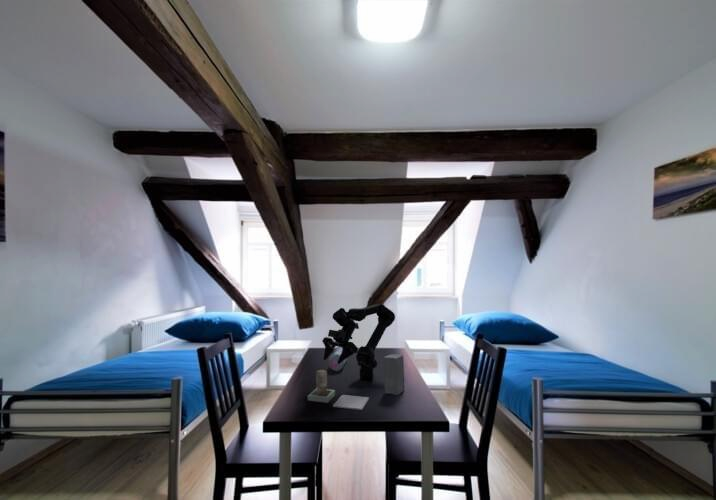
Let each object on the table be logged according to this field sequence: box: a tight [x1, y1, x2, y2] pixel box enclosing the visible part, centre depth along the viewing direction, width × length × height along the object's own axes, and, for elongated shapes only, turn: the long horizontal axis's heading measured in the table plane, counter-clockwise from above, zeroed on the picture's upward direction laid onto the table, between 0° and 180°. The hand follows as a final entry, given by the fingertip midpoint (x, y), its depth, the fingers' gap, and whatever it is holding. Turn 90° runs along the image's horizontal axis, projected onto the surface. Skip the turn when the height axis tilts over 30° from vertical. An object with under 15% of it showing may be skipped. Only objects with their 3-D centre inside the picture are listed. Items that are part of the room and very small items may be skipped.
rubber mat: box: [332, 394, 370, 411], centre depth 138 cm, size 12×12×1 cm
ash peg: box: [315, 369, 328, 396], centre depth 144 cm, size 4×4×11 cm
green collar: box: [307, 388, 336, 404], centre depth 144 cm, size 9×9×2 cm
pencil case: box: [328, 346, 349, 372], centre depth 191 cm, size 21×9×10 cm, turn 175°
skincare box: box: [383, 353, 406, 396], centre depth 151 cm, size 8×7×16 cm
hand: (331, 361), depth 151 cm, fingers open, 9 cm apart
